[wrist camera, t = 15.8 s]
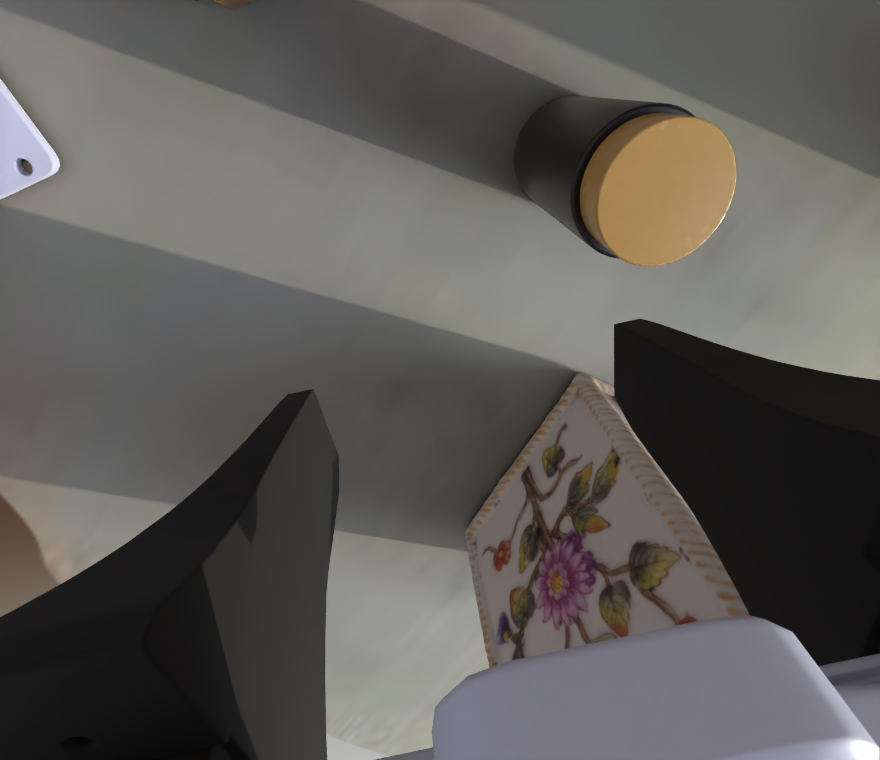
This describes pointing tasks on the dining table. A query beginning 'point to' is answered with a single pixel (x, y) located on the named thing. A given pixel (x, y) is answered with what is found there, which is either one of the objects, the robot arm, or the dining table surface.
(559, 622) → the decorative jar
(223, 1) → the open wooden box
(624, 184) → the pepper shaker
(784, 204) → the dining table surface
